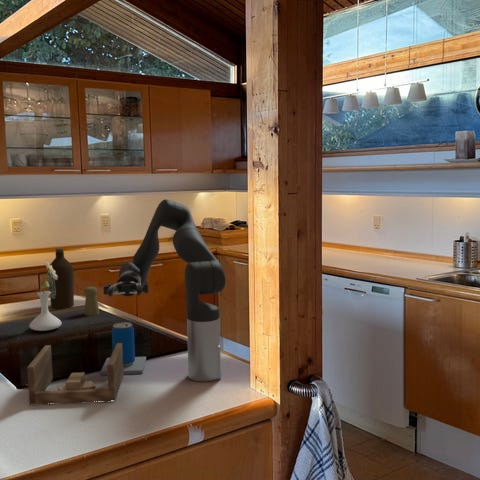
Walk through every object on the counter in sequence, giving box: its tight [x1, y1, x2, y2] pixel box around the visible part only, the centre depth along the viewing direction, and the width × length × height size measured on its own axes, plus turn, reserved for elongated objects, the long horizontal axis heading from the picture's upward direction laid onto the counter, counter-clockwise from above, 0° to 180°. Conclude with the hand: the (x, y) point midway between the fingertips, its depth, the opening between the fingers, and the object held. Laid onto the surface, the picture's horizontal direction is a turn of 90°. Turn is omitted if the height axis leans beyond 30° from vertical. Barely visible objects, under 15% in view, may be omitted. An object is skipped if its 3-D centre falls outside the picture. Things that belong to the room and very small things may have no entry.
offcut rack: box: [26, 343, 125, 406], centre depth 160 cm, size 22×18×10 cm
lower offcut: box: [57, 380, 96, 391], centre depth 159 cm, size 9×4×2 cm, turn 118°
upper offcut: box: [65, 371, 86, 390], centre depth 158 cm, size 7×4×2 cm, turn 4°
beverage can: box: [111, 321, 136, 366], centre depth 178 cm, size 6×6×12 cm
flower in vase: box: [29, 261, 63, 332], centre depth 219 cm, size 13×11×25 cm
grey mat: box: [100, 356, 147, 376], centre depth 178 cm, size 12×12×1 cm
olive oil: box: [47, 247, 75, 310], centre depth 253 cm, size 11×11×25 cm
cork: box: [83, 286, 100, 317], centre depth 241 cm, size 6×6×11 cm
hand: (124, 292), depth 186 cm, fingers open, 8 cm apart
